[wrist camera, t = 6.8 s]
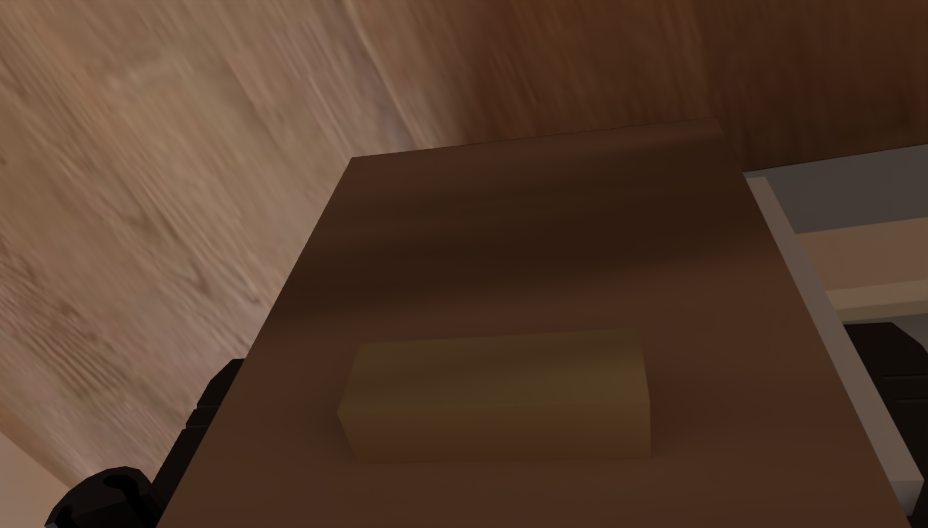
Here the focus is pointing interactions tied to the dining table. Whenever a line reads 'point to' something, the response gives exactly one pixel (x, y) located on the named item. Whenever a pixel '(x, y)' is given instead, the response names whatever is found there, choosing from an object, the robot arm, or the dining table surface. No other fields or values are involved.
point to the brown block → (540, 355)
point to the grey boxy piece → (864, 232)
